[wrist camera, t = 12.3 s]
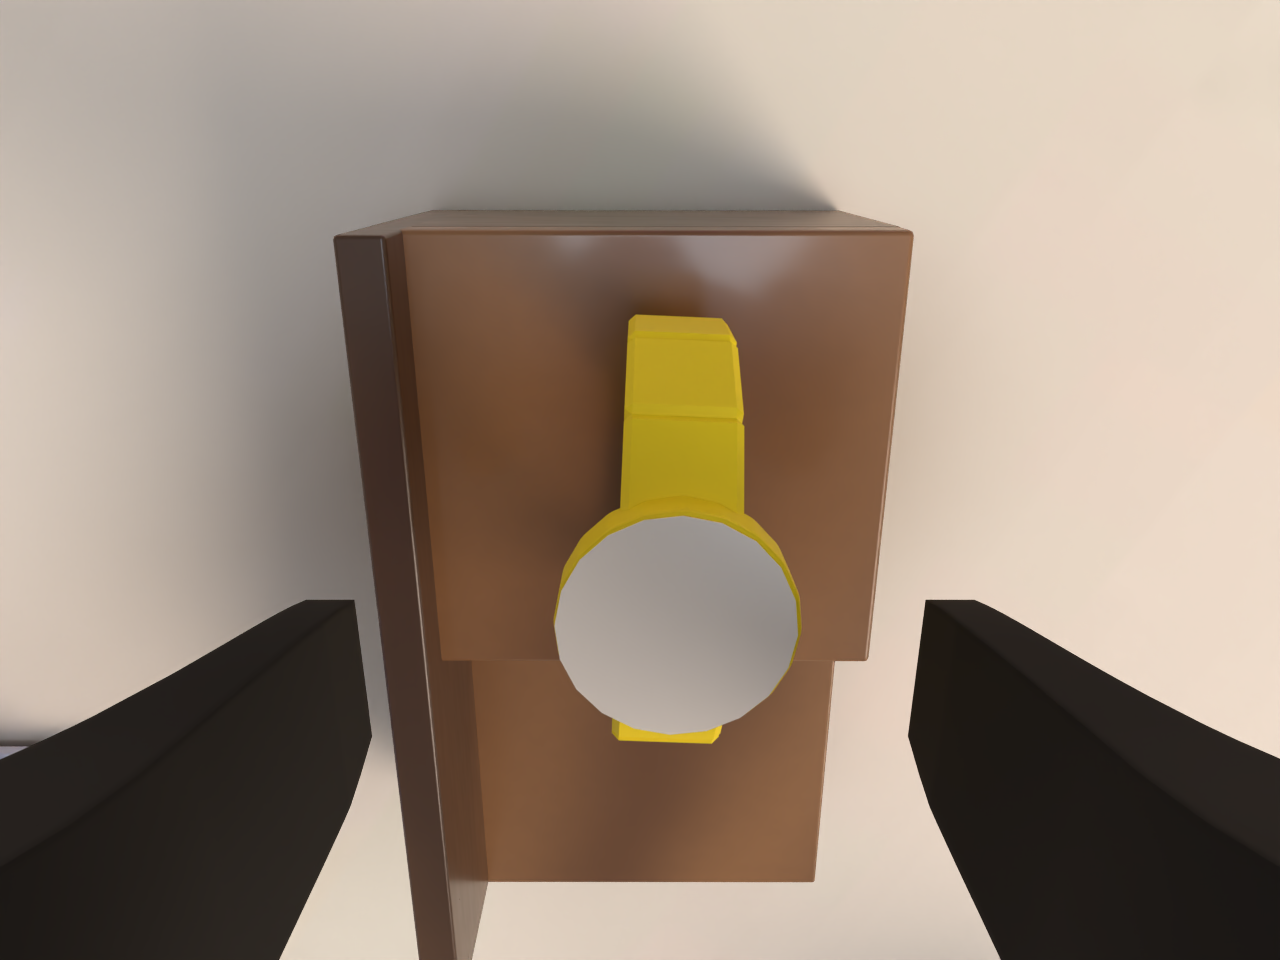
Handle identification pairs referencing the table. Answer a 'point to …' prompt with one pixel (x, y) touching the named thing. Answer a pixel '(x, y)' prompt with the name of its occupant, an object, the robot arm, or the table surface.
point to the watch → (678, 554)
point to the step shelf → (576, 501)
